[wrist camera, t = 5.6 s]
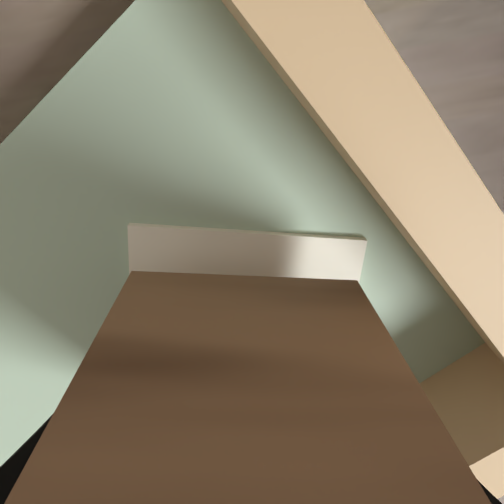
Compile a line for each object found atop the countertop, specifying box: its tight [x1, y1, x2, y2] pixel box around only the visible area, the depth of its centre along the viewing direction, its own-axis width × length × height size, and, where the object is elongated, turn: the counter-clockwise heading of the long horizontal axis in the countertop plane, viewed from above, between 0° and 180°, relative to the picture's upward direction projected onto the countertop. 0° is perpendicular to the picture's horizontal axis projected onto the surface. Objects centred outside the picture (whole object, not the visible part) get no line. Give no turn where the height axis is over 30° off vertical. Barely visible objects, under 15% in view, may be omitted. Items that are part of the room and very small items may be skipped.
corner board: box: [0, 0, 504, 499], centre depth 12 cm, size 14×19×4 cm
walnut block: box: [4, 271, 491, 504], centre depth 8 cm, size 5×5×6 cm
